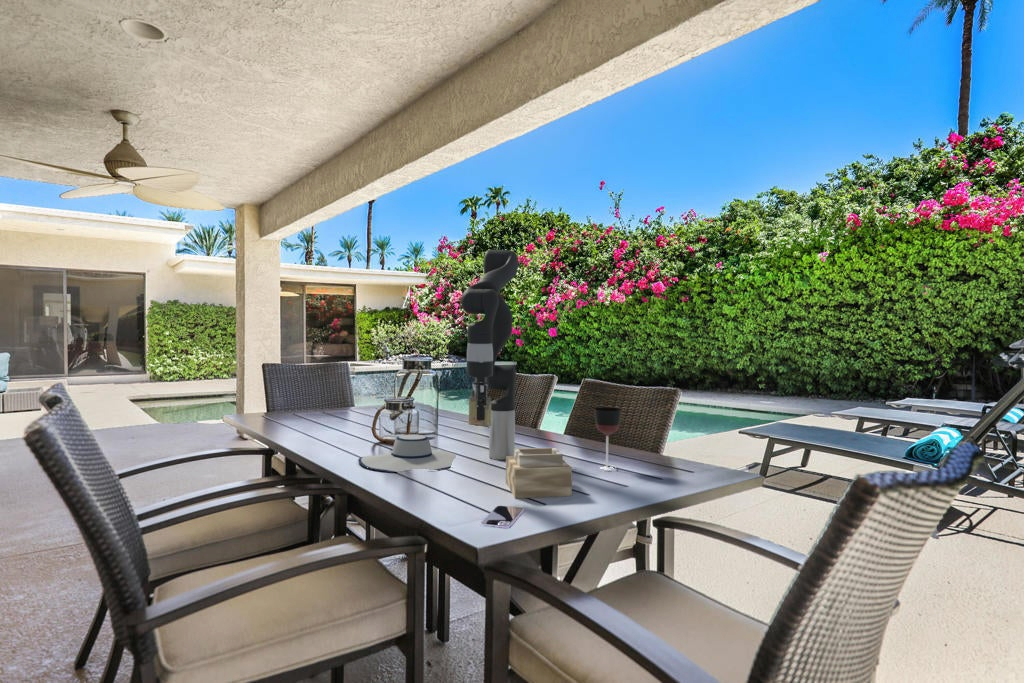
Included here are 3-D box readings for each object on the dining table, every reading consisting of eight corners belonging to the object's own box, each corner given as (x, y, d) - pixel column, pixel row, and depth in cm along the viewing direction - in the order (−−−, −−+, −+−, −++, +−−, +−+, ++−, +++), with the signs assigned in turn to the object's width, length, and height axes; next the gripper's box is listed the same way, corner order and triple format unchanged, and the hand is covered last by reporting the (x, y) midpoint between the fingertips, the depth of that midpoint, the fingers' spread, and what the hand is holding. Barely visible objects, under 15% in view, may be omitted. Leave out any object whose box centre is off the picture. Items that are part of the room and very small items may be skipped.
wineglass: (620, 472, 190) (620, 411, 189) (593, 471, 192) (593, 410, 191) (620, 466, 198) (621, 407, 197) (594, 465, 199) (595, 407, 199)
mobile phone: (525, 507, 151) (509, 526, 137) (525, 510, 151) (509, 530, 137) (497, 504, 154) (478, 523, 139) (497, 508, 154) (478, 527, 139)
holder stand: (505, 482, 177) (506, 446, 176) (557, 480, 179) (557, 445, 179) (515, 498, 161) (515, 458, 161) (571, 495, 164) (571, 456, 163)
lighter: (493, 425, 167) (493, 390, 167) (486, 427, 164) (486, 392, 163) (472, 423, 170) (472, 388, 170) (465, 425, 167) (465, 390, 167)
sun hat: (370, 480, 181) (370, 451, 181) (350, 456, 214) (349, 431, 214) (478, 468, 197) (478, 441, 196) (444, 447, 229) (444, 424, 229)
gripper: (464, 357, 173) (464, 414, 174) (468, 361, 159) (468, 423, 159) (490, 357, 174) (489, 414, 175) (496, 361, 160) (495, 422, 161)
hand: (479, 418), depth 167 cm, fingers closed on lighter, 5 cm apart
